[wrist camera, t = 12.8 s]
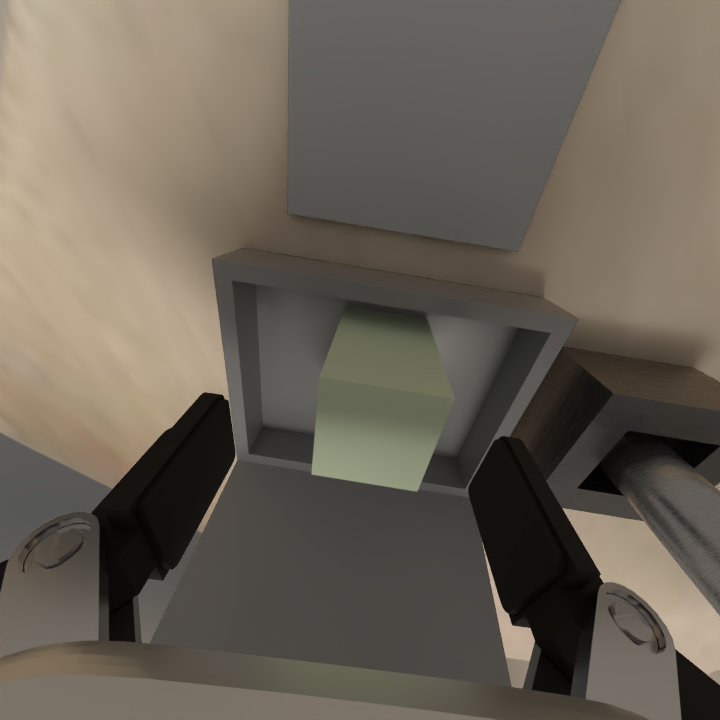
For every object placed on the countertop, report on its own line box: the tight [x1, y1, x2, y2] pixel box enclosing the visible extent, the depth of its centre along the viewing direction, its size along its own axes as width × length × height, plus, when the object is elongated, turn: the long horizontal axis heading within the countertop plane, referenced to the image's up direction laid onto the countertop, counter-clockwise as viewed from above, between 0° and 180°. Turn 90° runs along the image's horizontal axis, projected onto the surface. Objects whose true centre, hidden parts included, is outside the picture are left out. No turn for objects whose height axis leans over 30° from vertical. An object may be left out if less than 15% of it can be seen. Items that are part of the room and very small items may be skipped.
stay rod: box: [599, 430, 720, 615], centre depth 14 cm, size 3×3×10 cm
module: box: [311, 306, 455, 492], centre depth 13 cm, size 4×5×7 cm
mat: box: [287, 0, 621, 252], centre depth 11 cm, size 11×9×1 cm
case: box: [212, 248, 578, 498], centre depth 16 cm, size 16×13×3 cm
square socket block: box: [510, 347, 720, 521], centre depth 16 cm, size 8×8×4 cm
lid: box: [150, 460, 511, 687], centre depth 14 cm, size 16×13×1 cm
